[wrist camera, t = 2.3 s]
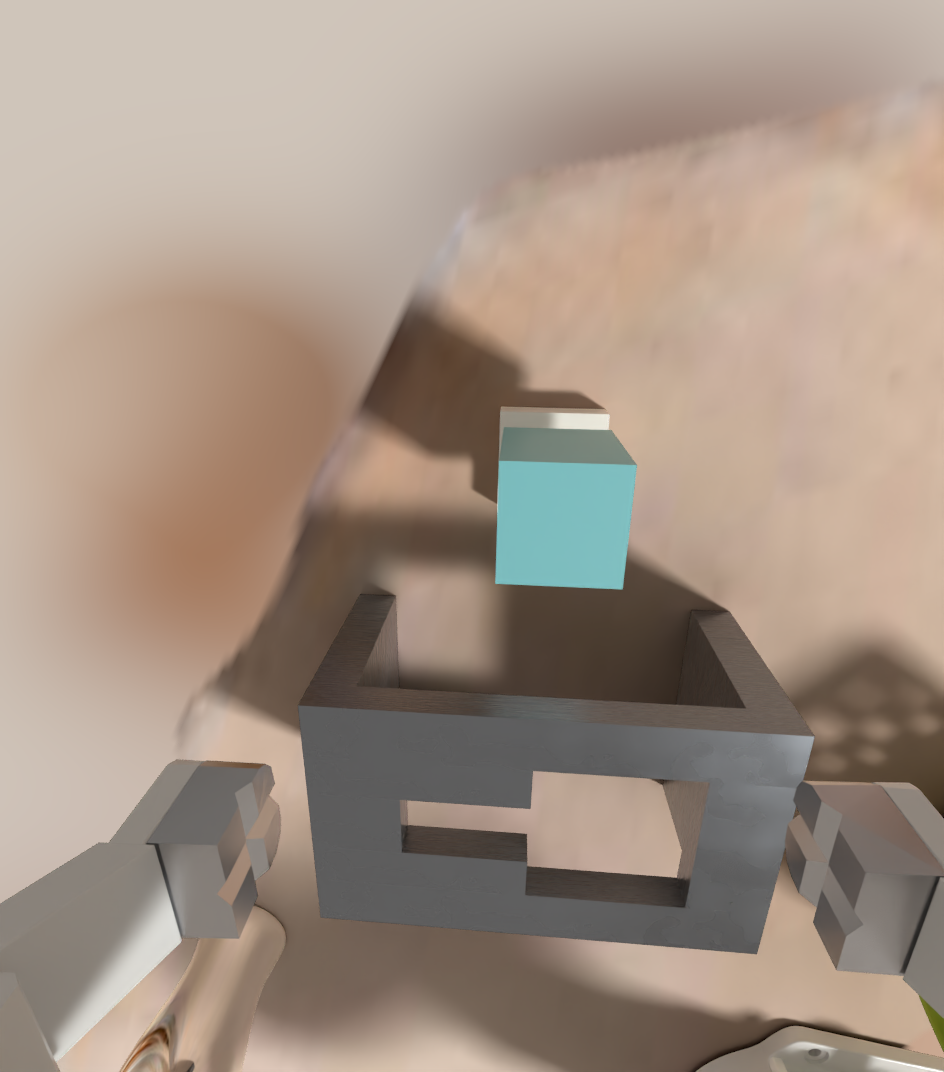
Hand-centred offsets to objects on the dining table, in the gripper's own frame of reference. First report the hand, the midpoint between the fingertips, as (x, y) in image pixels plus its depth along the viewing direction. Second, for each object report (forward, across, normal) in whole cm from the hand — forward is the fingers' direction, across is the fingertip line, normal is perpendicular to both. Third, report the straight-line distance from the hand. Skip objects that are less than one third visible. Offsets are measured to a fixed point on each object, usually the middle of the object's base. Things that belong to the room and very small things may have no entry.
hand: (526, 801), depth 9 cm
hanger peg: (+22, +2, 0) cm, 22 cm away
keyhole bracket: (+22, +1, -14) cm, 26 cm away
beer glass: (+22, -20, -35) cm, 46 cm away
